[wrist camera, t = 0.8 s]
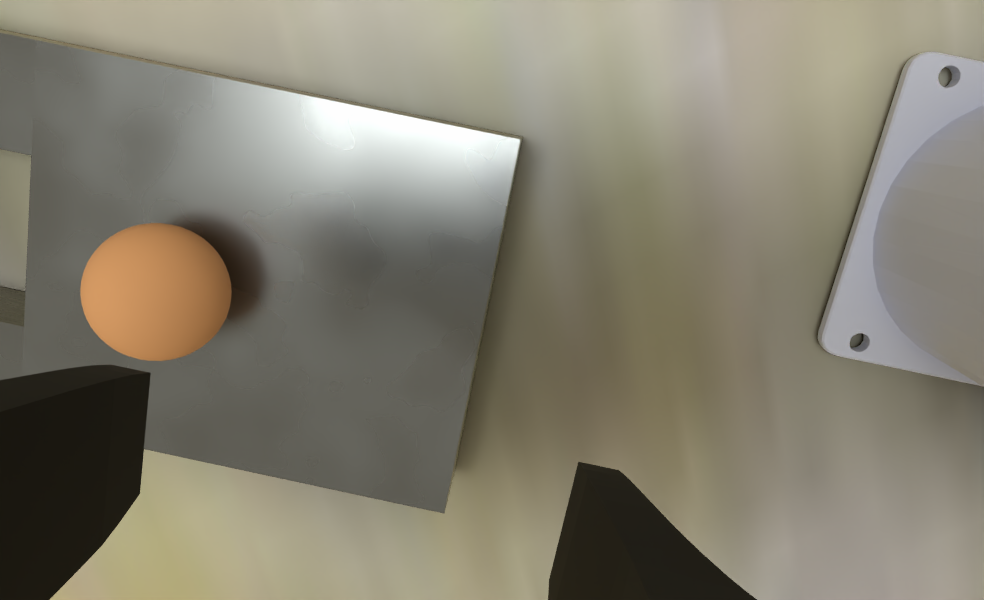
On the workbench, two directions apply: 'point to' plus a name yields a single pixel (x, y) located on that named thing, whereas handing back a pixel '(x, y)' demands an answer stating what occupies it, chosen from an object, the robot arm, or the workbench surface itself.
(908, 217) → the robot arm
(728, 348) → the workbench surface
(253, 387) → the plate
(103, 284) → the ball
